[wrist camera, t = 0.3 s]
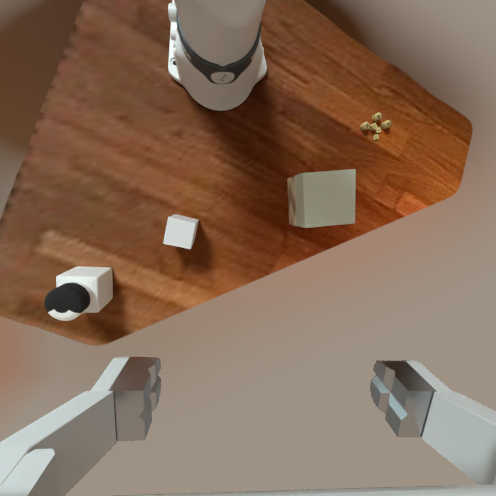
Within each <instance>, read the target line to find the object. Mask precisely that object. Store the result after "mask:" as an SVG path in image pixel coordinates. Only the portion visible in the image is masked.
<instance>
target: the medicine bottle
mask: <svg viewBox="0 0 496 496" xmlns="http://www.w3.org/2000/svg"><path fill="white" fill-rule="evenodd" d="M56 284H57V288H55V289H53V290H52V291H50V292H49V293H48V294H47V296H46V298H45V308H46V310H47V312H48V313H49V314H50V315H51V316H52V317H54V318H56V319H58V320H62V321H69V320H73V319H75V318H77V317H78V316H79V315H80V314H81V313H83V312H84V313H98V312H99V311H100V310H101V309H102V308H103V307H104V306H106V305H107V304H108V303H109V302H110V301H111V300H112V299H113V278H112V268H107V267H78V266H77V267H75V268H73V269H71V270H69V271H67V272H64V273H62V274H60V275H58V276H57V277H56Z"/></svg>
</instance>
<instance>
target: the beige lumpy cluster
mask: <svg viewBox="0 0 496 496" xmlns="http://www.w3.org/2000/svg"><path fill="white" fill-rule="evenodd" d="M381 118H382V114H381V113H377V114H375V115H373V116H372V121H374V122H376V121H378V120H380V119H381ZM390 126H391V121H390V120H388V121H385V122H383V123H382V125H381V127H382V128H383V129H386V128H388V127H390ZM377 127H378V126H377V125H376V123H374V124H371V125H370V124H369V122H365V123H363V124H361V125H360V129H361V130H362V131H364V130H366V129H369V130H371V131H373V130H374V129H375V128H376V133H379V132H381V127H379V128H377ZM377 139H378V134H377V135H373V140H377Z"/></svg>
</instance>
